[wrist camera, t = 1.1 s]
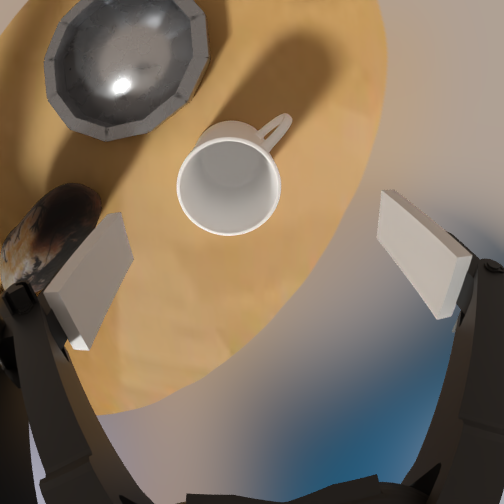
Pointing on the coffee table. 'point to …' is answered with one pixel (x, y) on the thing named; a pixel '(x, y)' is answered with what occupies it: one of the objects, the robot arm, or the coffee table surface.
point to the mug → (232, 177)
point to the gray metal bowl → (125, 64)
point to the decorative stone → (49, 235)
